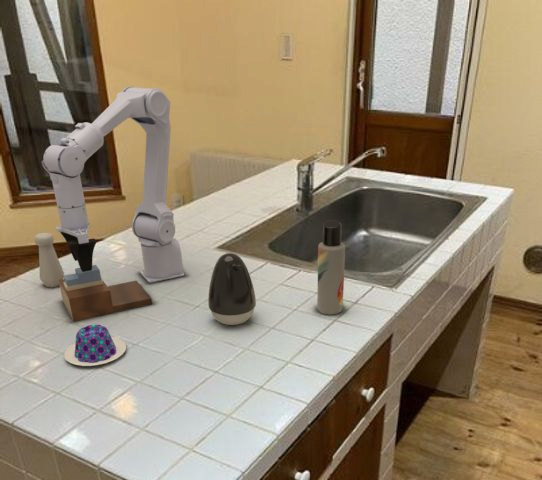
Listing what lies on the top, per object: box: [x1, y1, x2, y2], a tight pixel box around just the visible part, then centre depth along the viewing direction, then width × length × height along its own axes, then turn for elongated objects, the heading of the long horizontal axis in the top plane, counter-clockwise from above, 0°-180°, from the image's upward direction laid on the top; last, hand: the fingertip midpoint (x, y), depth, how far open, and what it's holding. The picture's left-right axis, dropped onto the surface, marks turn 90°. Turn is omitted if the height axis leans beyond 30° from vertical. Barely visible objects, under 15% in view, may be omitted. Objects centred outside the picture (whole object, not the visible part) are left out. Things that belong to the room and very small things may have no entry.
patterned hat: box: [63, 324, 127, 367], centre depth 120 cm, size 12×12×5 cm
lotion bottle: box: [316, 219, 346, 316], centre depth 131 cm, size 6×6×20 cm
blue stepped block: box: [63, 264, 104, 291], centre depth 136 cm, size 8×3×4 cm, turn 117°
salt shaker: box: [34, 232, 65, 288], centre depth 149 cm, size 6×6×13 cm
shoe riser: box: [59, 277, 153, 322], centre depth 140 cm, size 18×12×6 cm, turn 117°
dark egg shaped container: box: [207, 252, 257, 326], centre depth 129 cm, size 10×10×15 cm
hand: (83, 265), depth 136 cm, fingers open, 7 cm apart
